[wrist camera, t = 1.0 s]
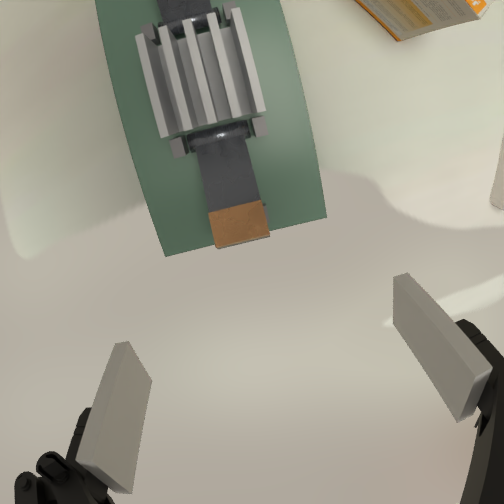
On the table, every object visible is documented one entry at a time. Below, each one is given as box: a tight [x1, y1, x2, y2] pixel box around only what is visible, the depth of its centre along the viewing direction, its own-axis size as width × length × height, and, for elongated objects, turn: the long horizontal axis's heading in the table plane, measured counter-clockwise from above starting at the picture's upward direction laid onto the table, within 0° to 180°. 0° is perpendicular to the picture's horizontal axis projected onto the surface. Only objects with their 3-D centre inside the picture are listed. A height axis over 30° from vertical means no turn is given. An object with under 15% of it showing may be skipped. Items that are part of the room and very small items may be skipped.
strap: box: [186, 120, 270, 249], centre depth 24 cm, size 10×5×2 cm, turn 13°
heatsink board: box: [95, 0, 327, 257], centre depth 22 cm, size 30×16×8 cm, turn 13°
